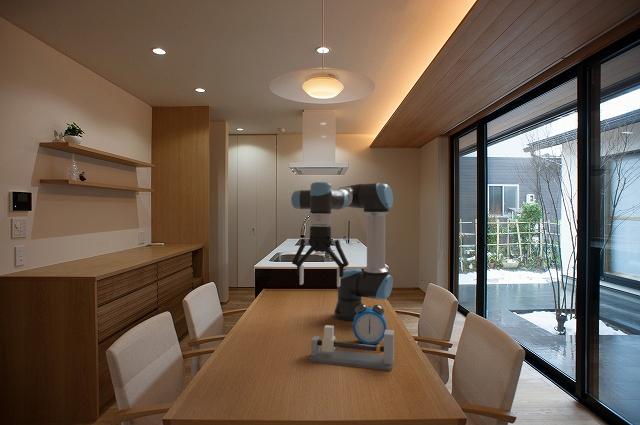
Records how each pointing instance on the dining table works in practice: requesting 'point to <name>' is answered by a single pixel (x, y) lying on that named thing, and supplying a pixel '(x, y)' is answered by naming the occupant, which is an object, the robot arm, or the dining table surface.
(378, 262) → the robot arm
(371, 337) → the alarm clock
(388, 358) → the slider rail fixture
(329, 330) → the sleeve
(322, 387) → the dining table surface
